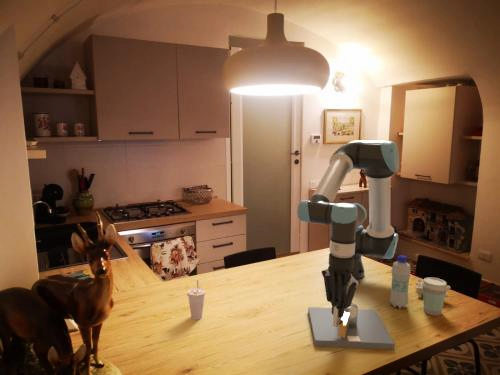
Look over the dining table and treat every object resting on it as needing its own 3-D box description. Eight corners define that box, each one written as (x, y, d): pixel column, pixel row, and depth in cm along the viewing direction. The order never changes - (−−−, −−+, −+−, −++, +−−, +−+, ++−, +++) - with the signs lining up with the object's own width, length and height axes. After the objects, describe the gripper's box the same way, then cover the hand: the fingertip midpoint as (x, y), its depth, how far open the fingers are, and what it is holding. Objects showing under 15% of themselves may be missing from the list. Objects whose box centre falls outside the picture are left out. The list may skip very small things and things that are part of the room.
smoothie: (200, 323, 128) (200, 284, 126) (184, 319, 130) (183, 281, 128) (208, 314, 134) (208, 277, 132) (193, 311, 136) (192, 275, 134)
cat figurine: (417, 277, 156) (448, 276, 148) (423, 291, 157) (454, 292, 149) (412, 288, 150) (444, 288, 142) (418, 303, 151) (450, 304, 143)
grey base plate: (308, 312, 137) (308, 306, 136) (374, 314, 135) (375, 308, 135) (315, 346, 115) (315, 339, 115) (394, 349, 114) (394, 342, 113)
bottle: (409, 310, 139) (413, 259, 136) (390, 308, 140) (394, 257, 137) (405, 302, 145) (409, 253, 142) (387, 301, 146) (391, 252, 144)
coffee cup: (450, 316, 135) (453, 285, 133) (429, 318, 133) (431, 286, 131) (435, 305, 143) (437, 276, 141) (414, 307, 141) (417, 277, 140)
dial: (340, 317, 129) (341, 300, 128) (358, 320, 126) (359, 304, 126) (331, 339, 115) (332, 320, 114) (351, 343, 113) (352, 325, 112)
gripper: (317, 250, 116) (313, 320, 120) (352, 262, 107) (347, 338, 111) (332, 246, 121) (328, 313, 125) (367, 257, 112) (361, 329, 116)
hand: (337, 325), depth 118 cm, fingers closed
